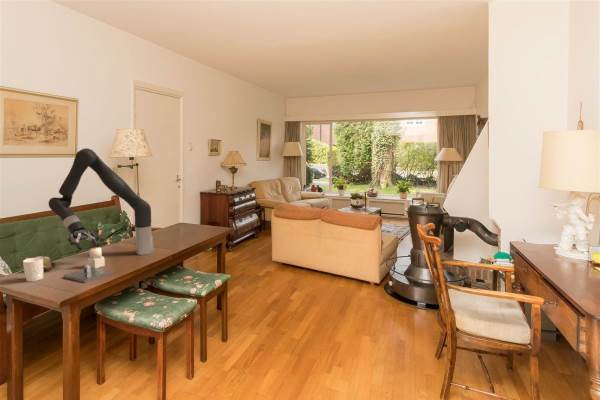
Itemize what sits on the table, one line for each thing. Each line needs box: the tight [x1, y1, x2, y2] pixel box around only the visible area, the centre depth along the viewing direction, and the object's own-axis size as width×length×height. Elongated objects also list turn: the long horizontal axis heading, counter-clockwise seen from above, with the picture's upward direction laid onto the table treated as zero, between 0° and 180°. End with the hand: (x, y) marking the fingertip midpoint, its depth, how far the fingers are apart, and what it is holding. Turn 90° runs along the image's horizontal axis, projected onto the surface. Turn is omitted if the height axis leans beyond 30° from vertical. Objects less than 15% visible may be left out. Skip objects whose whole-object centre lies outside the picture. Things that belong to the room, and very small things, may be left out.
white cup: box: [22, 257, 44, 283], centre depth 166 cm, size 8×8×10 cm
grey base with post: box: [63, 263, 112, 284], centre depth 172 cm, size 14×16×6 cm
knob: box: [87, 246, 106, 268], centre depth 186 cm, size 6×6×10 cm
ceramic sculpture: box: [24, 254, 62, 271], centre depth 180 cm, size 11×9×15 cm
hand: (89, 247), depth 188 cm, fingers open, 8 cm apart
